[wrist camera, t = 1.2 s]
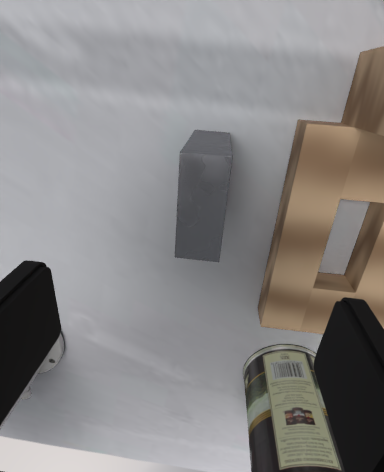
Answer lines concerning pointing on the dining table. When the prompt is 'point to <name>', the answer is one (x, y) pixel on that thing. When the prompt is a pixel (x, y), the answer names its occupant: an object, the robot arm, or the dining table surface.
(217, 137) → the tall grey upright slab
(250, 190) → the dining table surface
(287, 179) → the wooden slotted base
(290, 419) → the coffee can
